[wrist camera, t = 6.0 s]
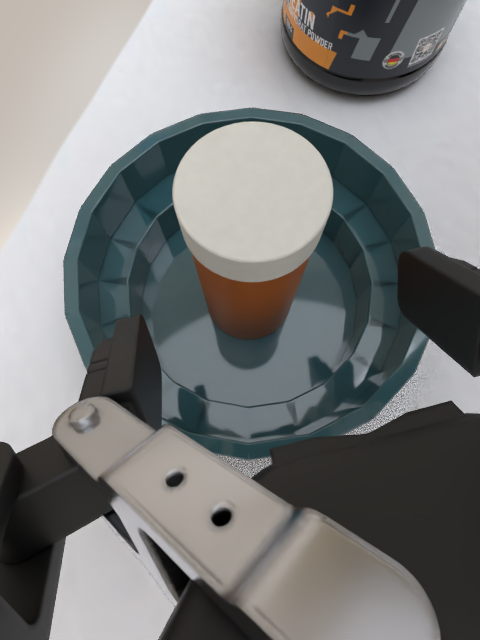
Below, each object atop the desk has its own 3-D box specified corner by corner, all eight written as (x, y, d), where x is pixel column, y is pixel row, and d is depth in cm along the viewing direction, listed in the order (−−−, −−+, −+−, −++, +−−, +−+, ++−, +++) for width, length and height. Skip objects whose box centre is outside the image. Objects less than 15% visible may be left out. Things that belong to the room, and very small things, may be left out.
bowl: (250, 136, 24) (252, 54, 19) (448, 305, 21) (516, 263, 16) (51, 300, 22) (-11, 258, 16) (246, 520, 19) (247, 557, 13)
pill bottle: (249, 243, 22) (253, 94, 12) (310, 300, 21) (367, 187, 11) (187, 298, 21) (138, 186, 11) (248, 360, 20) (251, 295, 10)
